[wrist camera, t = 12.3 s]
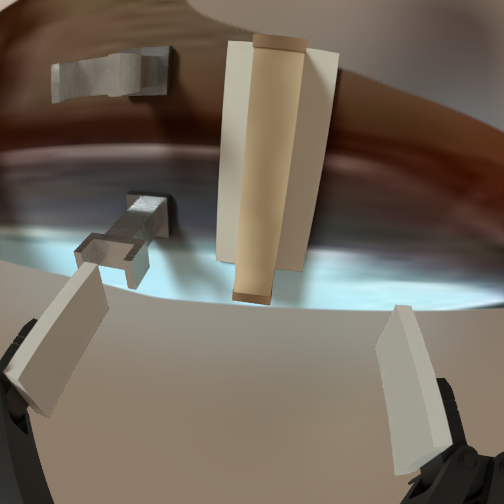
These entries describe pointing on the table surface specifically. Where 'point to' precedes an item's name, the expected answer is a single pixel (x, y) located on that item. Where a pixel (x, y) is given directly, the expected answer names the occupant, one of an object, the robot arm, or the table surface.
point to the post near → (115, 75)
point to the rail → (266, 161)
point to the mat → (302, 160)
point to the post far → (130, 236)
